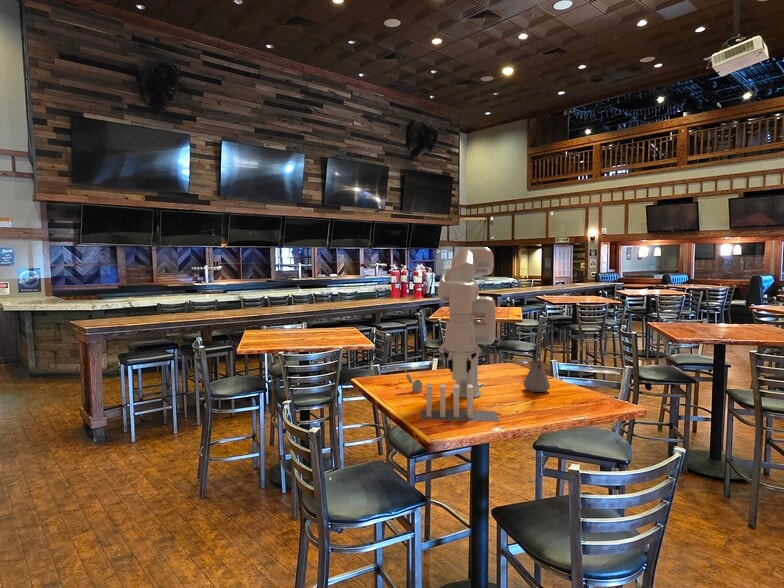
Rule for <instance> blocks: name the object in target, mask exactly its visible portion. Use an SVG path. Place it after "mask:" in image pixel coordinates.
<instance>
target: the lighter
mask: <svg viewBox="0 0 784 588" xmlns="http://www.w3.org/2000/svg"><path fill="white" fill-rule="evenodd" d="M405 377H406V378H407V380H408V382H409V384H412V388H411V389H412V390H411V391H412V393H423V381H421V380H420V379H414V381H413V380H412V378H411V376H410V373H409V372H408V373H407V374H405Z"/></svg>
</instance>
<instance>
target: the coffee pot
mask: <svg viewBox="0 0 784 588" xmlns="http://www.w3.org/2000/svg"><path fill="white" fill-rule="evenodd" d="M528 363H529V365H530V368H529V371H528V373H527V375H526V377H525V379H524V382H523V387H524V388H525V389H526V390H527V391H528V390H529V391H532V392H531V393H533V392H544V393H546V392H545V391H548V390H549V389H550V387H551V384H550V381H549V378H548V377H547V373H546V371H545V369H544V366H545V362H544V361H538V360H531V361H529V362H528ZM529 391H528V392H529Z"/></svg>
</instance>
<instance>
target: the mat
mask: <svg viewBox="0 0 784 588" xmlns="http://www.w3.org/2000/svg"><path fill="white" fill-rule="evenodd" d="M420 420H424V421H426V420H427V421H453V422H454V421H457V422H458V421H460V422H463V421H465V422H488V423H489V422H491V423H492V422H495V423H496V422H498V423H499V422H501V421H500V419H499V417H498V415H497V413H496V411H495V410H494V411H493V410H490V411H489V410H473V418H468V416H467V410H460V409H459V417H454V414H453V409H445V417H440V409H432V410H431V417H426V409H424V408H423V409H420Z"/></svg>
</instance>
